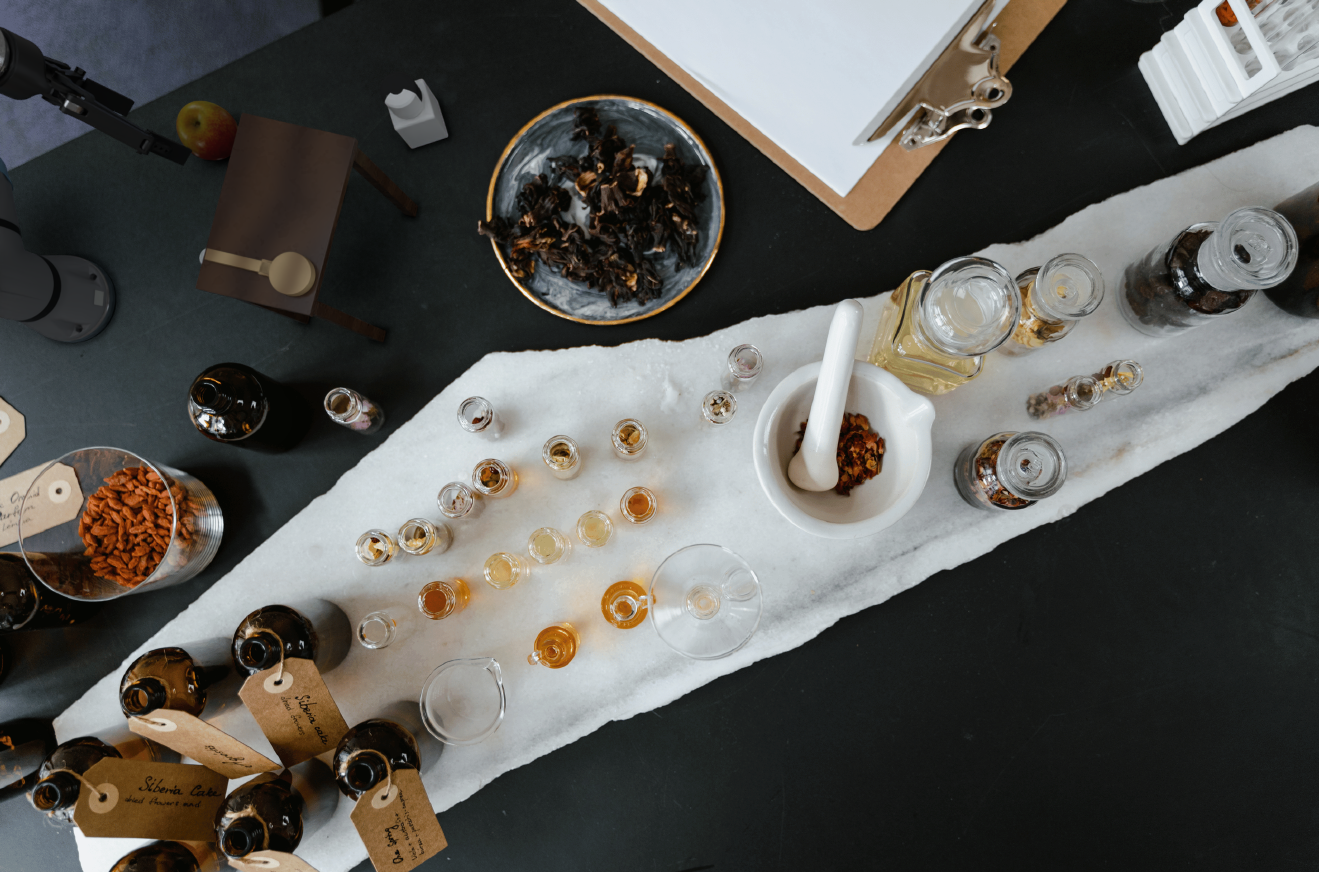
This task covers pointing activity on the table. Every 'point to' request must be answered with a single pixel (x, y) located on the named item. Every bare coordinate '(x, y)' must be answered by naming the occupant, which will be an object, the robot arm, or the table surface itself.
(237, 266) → the wooden paddle
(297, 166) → the dark wooden stool
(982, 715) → the table surface
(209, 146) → the fruit
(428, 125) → the gray notched block
